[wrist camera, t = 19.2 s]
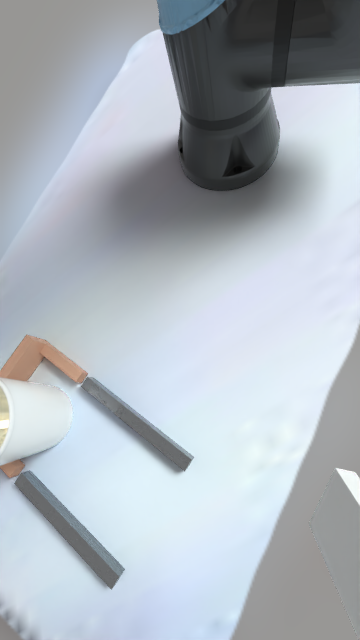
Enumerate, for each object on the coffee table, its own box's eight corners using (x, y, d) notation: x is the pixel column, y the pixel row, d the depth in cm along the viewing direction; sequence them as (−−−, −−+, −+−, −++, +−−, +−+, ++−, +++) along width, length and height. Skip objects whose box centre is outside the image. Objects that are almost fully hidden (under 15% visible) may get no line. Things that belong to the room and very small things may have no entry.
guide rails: (93, 377, 40) (87, 376, 38) (194, 457, 34) (191, 459, 33) (22, 480, 38) (14, 483, 36) (117, 581, 32) (111, 589, 31)
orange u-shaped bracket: (45, 340, 43) (26, 334, 39) (88, 373, 40) (71, 370, 36) (-21, 433, 41) (-48, 436, 37) (18, 475, 38) (-7, 483, 34)
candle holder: (11, 454, 39) (-84, 476, 28) (20, 381, 42) (-62, 374, 31) (76, 455, 37) (2, 480, 26) (81, 379, 40) (17, 371, 29)
